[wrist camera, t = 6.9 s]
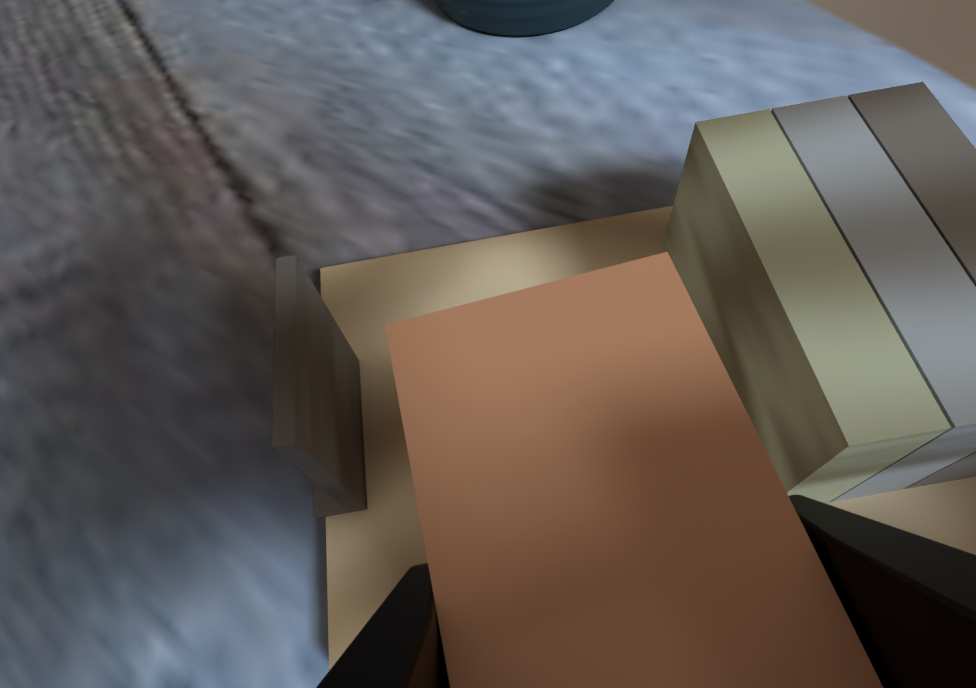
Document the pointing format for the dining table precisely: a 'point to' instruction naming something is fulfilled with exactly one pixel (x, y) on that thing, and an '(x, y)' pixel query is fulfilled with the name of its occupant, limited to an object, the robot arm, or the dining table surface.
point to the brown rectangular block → (606, 498)
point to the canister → (521, 14)
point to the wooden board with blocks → (723, 310)
